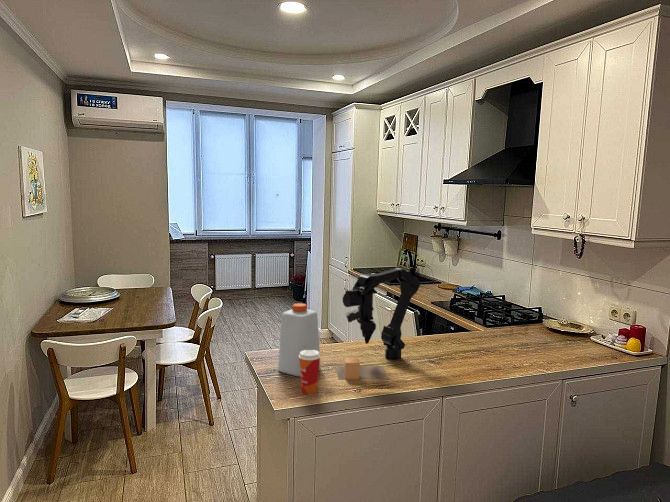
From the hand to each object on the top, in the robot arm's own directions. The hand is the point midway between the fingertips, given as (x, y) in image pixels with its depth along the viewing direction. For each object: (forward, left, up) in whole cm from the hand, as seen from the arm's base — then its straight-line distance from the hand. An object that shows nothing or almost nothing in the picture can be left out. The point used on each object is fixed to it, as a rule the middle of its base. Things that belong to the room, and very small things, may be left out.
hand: (365, 340), depth 198 cm
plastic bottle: (+28, +2, -12) cm, 31 cm away
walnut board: (+2, +9, -12) cm, 15 cm away
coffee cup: (+24, +24, -12) cm, 36 cm away
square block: (+7, +13, -11) cm, 18 cm away
